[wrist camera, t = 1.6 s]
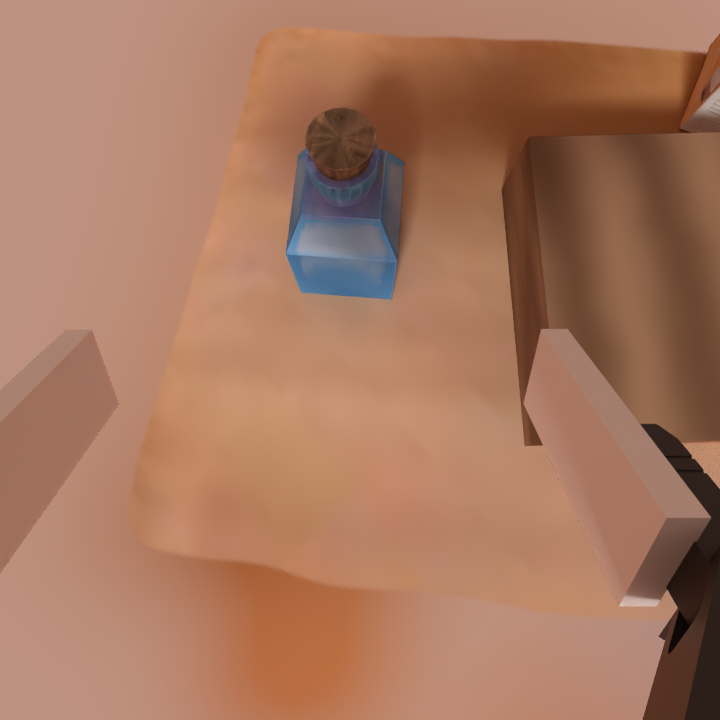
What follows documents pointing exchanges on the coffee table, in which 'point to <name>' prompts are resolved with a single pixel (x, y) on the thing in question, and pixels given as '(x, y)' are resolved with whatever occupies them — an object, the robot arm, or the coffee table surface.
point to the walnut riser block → (623, 268)
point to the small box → (705, 96)
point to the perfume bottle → (345, 209)
